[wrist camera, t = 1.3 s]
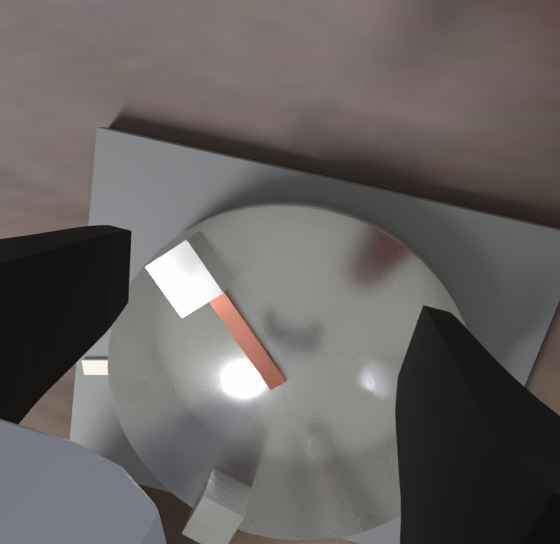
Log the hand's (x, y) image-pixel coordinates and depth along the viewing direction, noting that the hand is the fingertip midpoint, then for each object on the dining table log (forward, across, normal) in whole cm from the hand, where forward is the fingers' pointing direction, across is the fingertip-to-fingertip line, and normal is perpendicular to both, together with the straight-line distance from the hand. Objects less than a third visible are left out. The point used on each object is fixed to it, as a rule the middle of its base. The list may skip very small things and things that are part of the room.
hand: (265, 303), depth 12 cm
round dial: (+9, 0, +8) cm, 12 cm away
